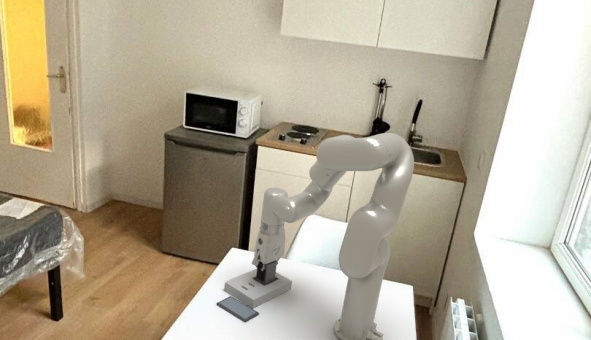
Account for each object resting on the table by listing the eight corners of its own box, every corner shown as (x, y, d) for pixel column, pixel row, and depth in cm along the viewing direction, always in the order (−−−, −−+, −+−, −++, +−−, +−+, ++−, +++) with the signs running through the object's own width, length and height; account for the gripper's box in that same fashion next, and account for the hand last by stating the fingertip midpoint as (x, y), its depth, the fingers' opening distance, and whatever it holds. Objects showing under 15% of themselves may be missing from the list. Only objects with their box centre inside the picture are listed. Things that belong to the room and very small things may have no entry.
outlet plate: (291, 289, 160) (292, 280, 160) (252, 308, 147) (253, 299, 146) (262, 273, 168) (263, 265, 167) (224, 290, 155) (225, 281, 154)
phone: (258, 316, 145) (259, 312, 144) (245, 324, 140) (245, 320, 139) (230, 299, 151) (230, 295, 151) (216, 306, 146) (216, 302, 146)
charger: (274, 283, 160) (277, 261, 157) (265, 287, 156) (267, 265, 154) (264, 277, 162) (267, 255, 160) (255, 281, 159) (258, 259, 157)
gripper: (262, 237, 145) (255, 290, 150) (298, 224, 158) (290, 274, 163) (244, 228, 149) (239, 280, 155) (280, 216, 162) (274, 265, 167)
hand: (265, 276), depth 159 cm, fingers closed on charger, 4 cm apart
